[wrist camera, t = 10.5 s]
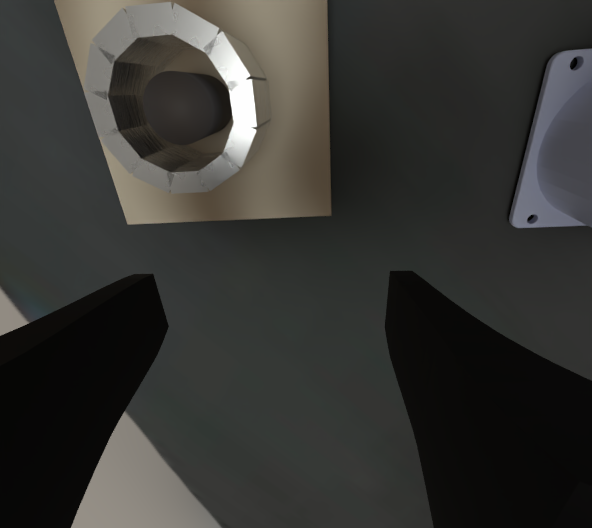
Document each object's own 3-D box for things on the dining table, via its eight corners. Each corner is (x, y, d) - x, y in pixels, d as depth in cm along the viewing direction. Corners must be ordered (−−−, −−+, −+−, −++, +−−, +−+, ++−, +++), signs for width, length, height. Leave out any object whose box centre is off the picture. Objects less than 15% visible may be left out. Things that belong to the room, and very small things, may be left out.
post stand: (324, -61, 13) (327, -135, 9) (330, 206, 18) (334, 244, 14) (66, -31, 14) (-50, -84, 10) (140, 214, 19) (87, 253, 15)
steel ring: (262, 19, 13) (241, -6, 10) (276, 166, 16) (264, 189, 12) (125, 31, 14) (58, 13, 10) (161, 172, 16) (117, 196, 13)
